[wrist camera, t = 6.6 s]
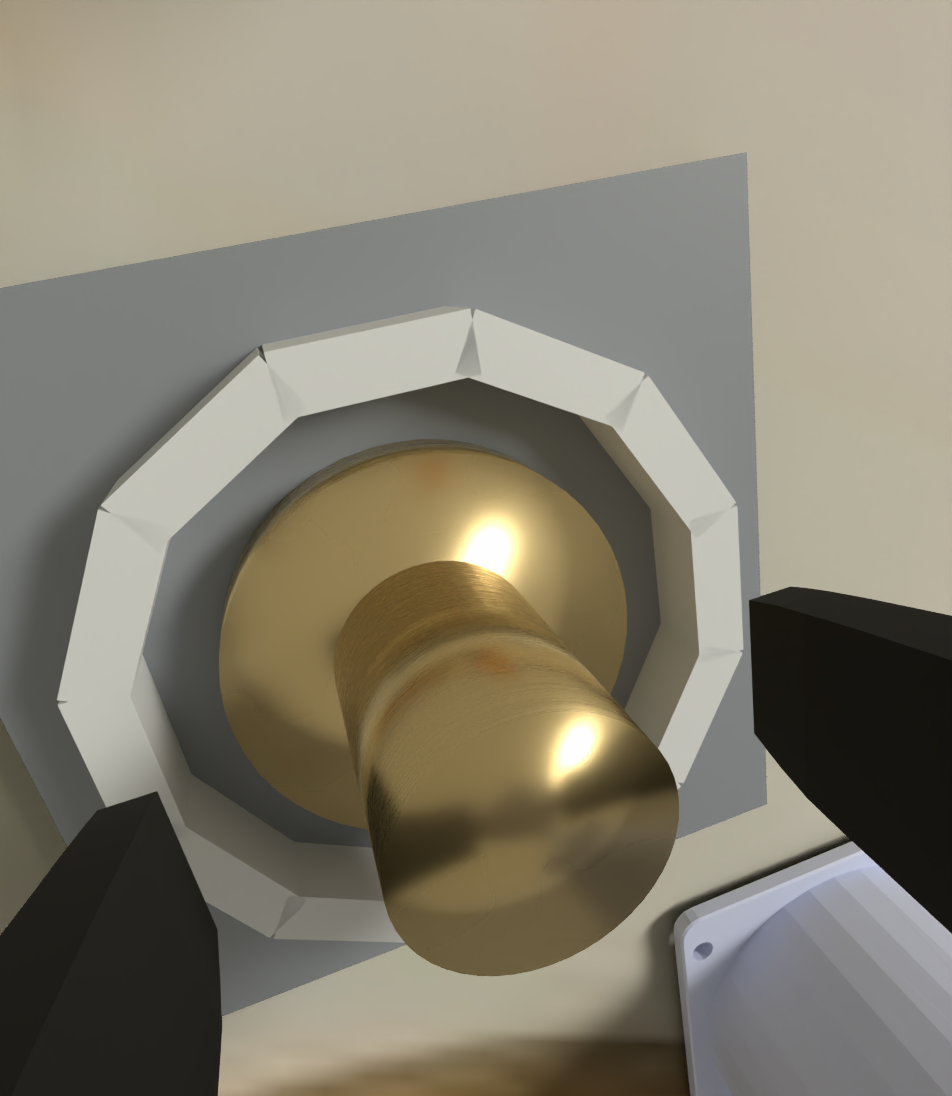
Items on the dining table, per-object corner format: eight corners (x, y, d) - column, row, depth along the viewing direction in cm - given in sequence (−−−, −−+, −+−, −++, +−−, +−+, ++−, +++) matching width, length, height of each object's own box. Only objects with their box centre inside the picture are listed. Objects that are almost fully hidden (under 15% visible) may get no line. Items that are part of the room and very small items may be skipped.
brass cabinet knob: (606, 737, 13) (793, 971, 9) (269, 834, 12) (284, 1169, 7) (590, 408, 11) (827, 493, 7) (173, 480, 10) (109, 651, 5)
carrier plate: (737, 774, 16) (807, 843, 14) (171, 987, 14) (158, 1108, 12) (706, 163, 11) (804, 136, 9) (-158, 320, 9) (-274, 331, 7)
